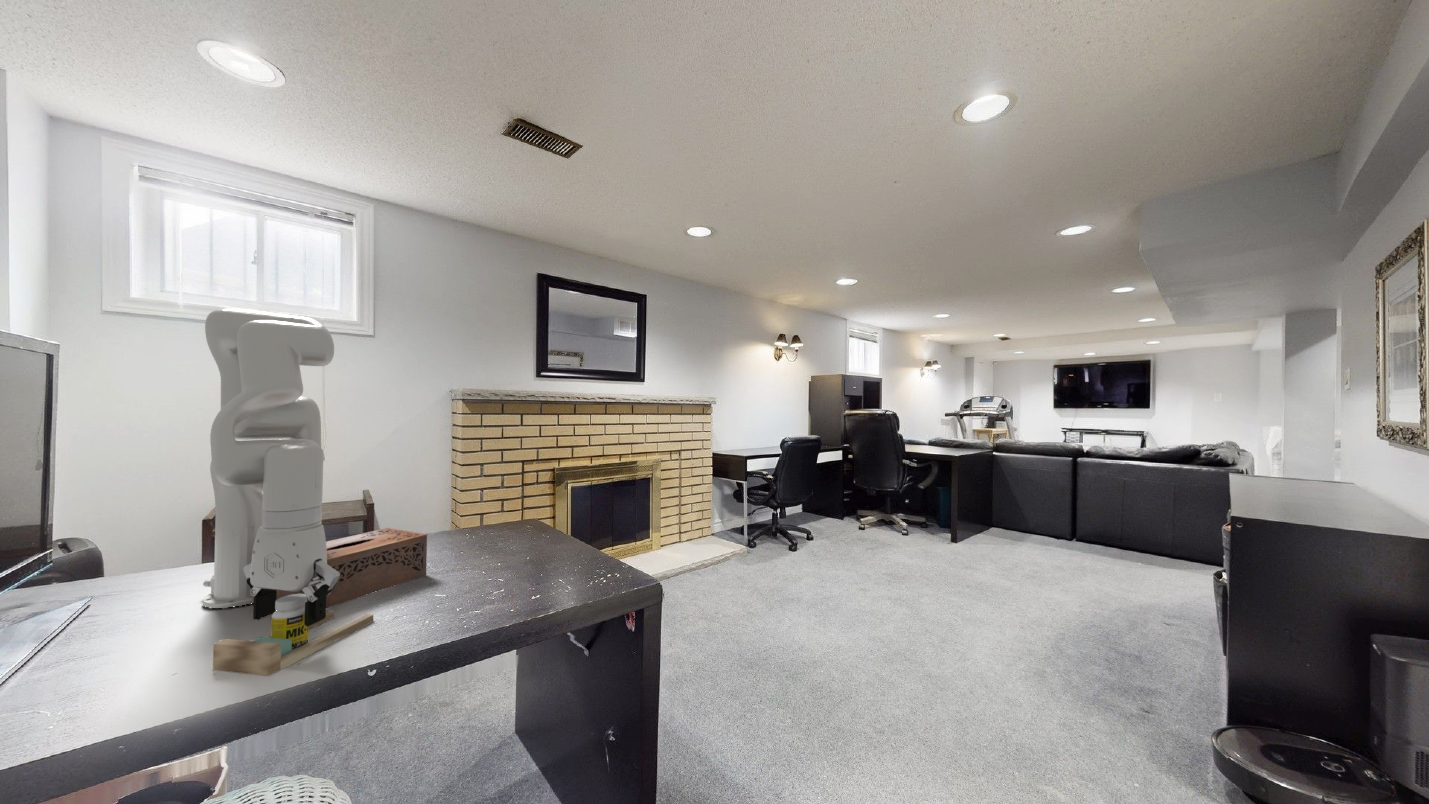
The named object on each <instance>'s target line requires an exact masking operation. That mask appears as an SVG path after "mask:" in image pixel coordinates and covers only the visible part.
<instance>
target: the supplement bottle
mask: <svg viewBox="0 0 1429 804" xmlns="http://www.w3.org/2000/svg"><path fill="white" fill-rule="evenodd" d="M305 602H307V596H306V595H305V594H293V595H288V596H284V597H281V598H279V599H277V600H276V602H275V610H277V611H275V612H274V613H273V614H271V623H270V628H271V629H270V636H271V638H278V639H289V640H292V651H293V650H295V649H297V648H299V647H301V646H303V645H305V644H307V643H309V634H310V633H309V631H310V629H309V626H305V624H304V621H305Z"/></svg>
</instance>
